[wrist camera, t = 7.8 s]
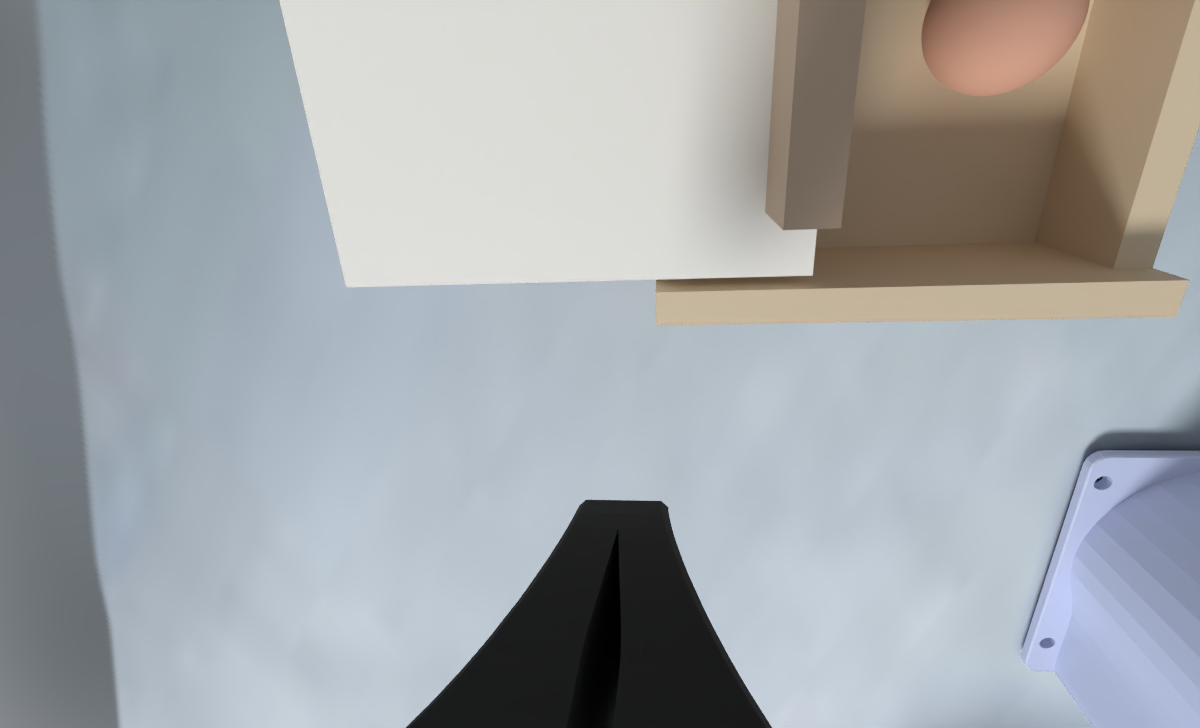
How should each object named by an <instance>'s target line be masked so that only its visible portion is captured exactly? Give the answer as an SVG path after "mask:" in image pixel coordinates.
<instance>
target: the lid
mask: <svg viewBox="0 0 1200 728" xmlns="http://www.w3.org/2000/svg"><path fill="white" fill-rule="evenodd" d="M280 5H281V9H282V13H283V18H284V22H285V26H286V30H287V35H288V39H289V43H290V48H291V52H292V56H293V61H294V65H295V69H296V73H297V78H298V82H299V86H300V91H301V95H302V99H303V103H304V108H305V112H306V116H307V121H308V125H309V129H310V134H311V138H312V142H313V146H314V151H315V155H316V159H317V164H318V168H319V172H320V176H321V181H322V185H323V189H324V194H325V198H326V202H327V207H328V211H329V215H330V219H331V224H332V228H333V232H334V237H335V241H336V245H337V250H338V254H339V258H340V262H341V267H342V271H343V275H344V280H345V284H346V287H381V286H420V285H460V284H500V283H539V282H579V281H618V280H658V279H697V278H737V277H776V276H813V267H814V256H815V246H816V235H817V229H836V228H841V223H842V214H843V205H844V196H845V187H846V178H847V169H848V160H849V151H850V142H851V133H852V124H853V115H854V106H855V97H856V88H857V79H858V70H859V61H860V52H861V43H862V34H863V25H864V16H865V7H866V0H280Z"/></svg>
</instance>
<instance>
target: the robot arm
mask: <svg viewBox="0 0 1200 728" xmlns="http://www.w3.org/2000/svg"><path fill="white" fill-rule="evenodd" d="M1100 477H1103V478H1102V479H1101V480H1100V481H1098V482H1095V481H1096V479H1098V478H1100ZM1021 659H1022V660H1023V662H1024V663H1025V665H1026V667H1027V668H1029V669H1030V670H1034V671H1046V672H1055V674H1056V675H1057V677H1058V678H1059V680H1060V681H1061V682H1062V684H1063V685H1064V687H1065V688H1066V690H1067V691H1068V692H1069V694H1070V695H1071V697H1072V698H1073V700H1074V701H1075V702H1076V704H1077V705H1078V707H1079V708H1080V710H1081V711H1082V712H1083V714H1084V715H1085V717H1086V718H1087V720H1088V721H1089V722H1090V724H1091V725H1092V727H1093V728H1200V451H1148V450H1103V451H1097V452H1095V453H1093V454H1091V455H1090V456H1088V457H1087V458H1086V460H1085V461H1084V463H1083V466H1082V469H1081V472H1080V475H1079V478H1078V481H1077V484H1076V487H1075V490H1074V493H1073V496H1072V499H1071V502H1070V505H1069V508H1068V511H1067V514H1066V517H1065V521H1064V524H1063V527H1062V530H1061V533H1060V536H1059V539H1058V542H1057V545H1056V548H1055V551H1054V554H1053V557H1052V560H1051V563H1050V566H1049V569H1048V572H1047V575H1046V579H1045V582H1044V585H1043V588H1042V591H1041V594H1040V597H1039V600H1038V603H1037V606H1036V609H1035V612H1034V615H1033V618H1032V621H1031V624H1030V627H1029V630H1028V633H1027V637H1026V640H1025V643H1024V646H1023V649H1022V652H1021ZM406 728H772V727H771V725H770V724H769V722H768V721H767V719H766V718H765V716H764V714H763V713H762V711H761V710H760V708H759V707H758V705H757V703H756V702H755V700H754V699H753V697H752V695H751V694H750V692H749V691H748V689H747V687H746V686H745V684H744V682H743V681H742V679H741V677H740V675H739V674H738V672H737V670H736V669H735V667H734V665H733V663H732V662H731V660H730V658H729V656H728V654H727V652H726V651H725V649H724V647H723V645H722V643H721V641H720V639H719V638H718V636H717V634H716V632H715V630H714V628H713V626H712V624H711V622H710V620H709V618H708V616H707V614H706V612H705V610H704V608H703V606H702V604H701V602H700V599H699V597H698V595H697V593H696V591H695V588H694V586H693V584H692V582H691V580H690V577H689V575H688V573H687V570H686V568H685V565H684V563H683V560H682V558H681V555H680V552H679V549H678V546H677V544H676V541H675V537H674V534H673V531H672V527H671V523H670V518H669V513H668V507H667V506H666V505H665V504H664V503H663V502H662V501H622V500H585V501H584V502H583V503H582V504H581V505H580V506H579V508H578V510H577V512H576V514H575V515H574V517H573V519H572V521H571V523H570V524H569V526H568V528H567V529H566V531H565V533H564V534H563V536H562V538H561V539H560V541H559V542H558V544H557V546H556V547H555V549H554V550H553V552H552V553H551V555H550V557H549V558H548V560H547V561H546V562H545V564H544V565H543V567H542V568H541V570H540V571H539V572H538V574H537V575H536V577H535V578H534V580H533V581H532V582H531V584H530V585H529V587H528V588H527V590H526V591H525V592H524V594H523V595H522V596H521V598H520V599H519V601H518V602H517V603H516V604H515V606H514V607H513V608H512V609H511V611H510V612H509V613H508V615H507V616H506V617H505V618H504V620H503V621H502V622H501V623H500V625H499V626H498V627H497V628H496V630H495V631H494V632H493V634H492V635H491V636H490V637H489V639H488V640H487V641H486V642H485V643H484V645H483V646H482V647H481V648H480V649H479V650H478V652H477V653H476V654H475V655H474V656H473V657H472V659H471V660H470V661H469V662H468V663H467V664H466V665H465V667H464V668H463V669H462V670H461V671H460V672H459V673H458V674H457V676H456V677H455V678H454V679H453V680H452V681H451V682H450V683H449V684H448V685H447V686H446V687H445V688H444V690H443V691H442V692H441V693H440V694H439V695H438V696H437V697H436V698H435V699H434V700H433V701H432V702H431V703H430V704H429V705H428V706H427V707H426V708H425V709H424V710H423V711H422V712H421V713H420V714H419V715H418V716H417V717H416V718H415V719H414V720H413V721H412V722H411V723H410V724H409V725H408V726H407V727H406Z"/></svg>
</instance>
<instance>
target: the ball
mask: <svg viewBox="0 0 1200 728" xmlns="http://www.w3.org/2000/svg"><path fill="white" fill-rule="evenodd" d="M1089 3H1090V0H931V2H930V4H929V6H928V9H927V12H926V15H925V18H924V22H923V26H922V35H921V42H922V51H923V56H924V59H925V62H926V64H927V66H928V68H929V70H930V71H931V73H932V74H933V76H934V77H935V78H936V79H937V80H938V81H939V82H940V83H941V84H943V85H944V86H946V87H947V88H949V89H951V90H953V91H955V92H958V93H961V94H964V95H971V96H992V95H999V94H1003V93H1007V92H1010V91H1013V90H1016V89H1018V88H1020V87H1023V86H1025V85H1027V84H1029V83H1031V82H1033V81H1034V80H1036V79H1037V78H1039V77H1040V76H1042V75H1043V74H1044V73H1046V72H1047V71H1048V70H1049V69H1051V68H1052V67H1053V66H1054V65H1055V64H1056V63H1057V62H1058V61H1059V60H1060V59H1061V58H1062V57H1063V56H1064V55H1065V53H1066V52H1067V51H1068V50H1069V48H1070V47H1071V46H1072V44H1073V43H1074V41H1075V40H1076V38H1077V36H1078V35H1079V33H1080V31H1081V29H1082V27H1083V24H1084V22H1085V19H1086V16H1087V13H1088V9H1089Z"/></svg>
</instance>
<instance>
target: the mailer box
mask: <svg viewBox="0 0 1200 728" xmlns="http://www.w3.org/2000/svg"><path fill="white" fill-rule="evenodd" d="M930 2H931V0H866V7H865V16H864V25H863V34H862V43H861V52H860V61H859V70H858V79H857V88H856V97H855V106H854V115H853V124H852V133H851V142H850V151H849V160H848V169H847V178H846V187H845V196H844V205H843V214H842V223H841V228H836V229H817V235H816V246H815V256H814V267H813V276H776V277H737V278H697V279H658V280H656V326H657V325H717V324H777V323H837V322H897V321H956V320H1016V319H1076V318H1136V317H1176V316H1177V314H1178V311H1179V308H1180V305H1181V303H1182V300H1183V297H1184V294H1185V291H1186V289H1187V286H1188V283H1189V280H1187V279H1184V278H1181V277H1178V276H1175V275H1172V274H1169V273H1166V272H1163V271H1160V270H1157V269H1153V265H1154V261H1155V258H1156V255H1157V252H1158V249H1159V246H1160V243H1161V240H1162V237H1163V234H1164V231H1165V228H1166V225H1167V222H1168V219H1169V216H1170V213H1171V210H1172V207H1173V204H1174V201H1175V198H1176V195H1177V192H1178V189H1179V186H1180V183H1181V180H1182V177H1183V174H1184V171H1185V168H1186V165H1187V162H1188V159H1189V156H1190V153H1191V150H1192V147H1193V144H1194V141H1195V138H1196V135H1197V132H1198V129H1199V126H1200V0H1090V3H1089V9H1088V13H1087V16H1086V19H1085V22H1084V24H1083V27H1082V29H1081V31H1080V33H1079V35H1078V36H1077V38H1076V40H1075V41H1074V43H1073V44H1072V46H1071V47H1070V48H1069V50H1068V51H1067V52H1066V53H1065V55H1064V56H1063V57H1062V58H1061V59H1060V60H1059V61H1058V62H1057V63H1056V64H1055V65H1054V66H1053V67H1052V68H1051V69H1049V70H1048V71H1047V72H1046V73H1044V74H1043V75H1042V76H1040V77H1039V78H1037V79H1036V80H1034V81H1033V82H1031V83H1029V84H1027V85H1025V86H1023V87H1020V88H1018V89H1016V90H1013V91H1010V92H1007V93H1003V94H999V95H992V96H971V95H964V94H961V93H958V92H955V91H953V90H951V89H949V88H947V87H946V86H944V85H943V84H941V83H940V82H939V81H938V80H937V79H936V78H935V77H934V76H933V74H932V73H931V71H930V70H929V68H928V66H927V64H926V62H925V59H924V56H923V51H922V42H921V35H922V26H923V22H924V18H925V15H926V12H927V9H928V6H929V4H930Z"/></svg>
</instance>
